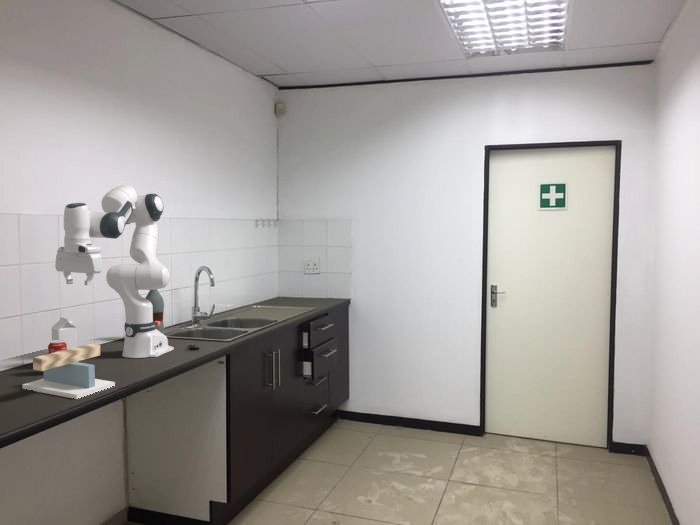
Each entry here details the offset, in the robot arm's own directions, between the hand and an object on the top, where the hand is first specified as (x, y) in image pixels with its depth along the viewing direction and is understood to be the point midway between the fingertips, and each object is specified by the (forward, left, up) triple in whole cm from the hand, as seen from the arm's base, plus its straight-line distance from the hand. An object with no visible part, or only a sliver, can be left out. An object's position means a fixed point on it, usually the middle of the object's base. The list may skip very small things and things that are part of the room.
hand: (78, 284), depth 216 cm
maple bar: (+13, +9, -25) cm, 30 cm away
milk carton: (-8, -18, -34) cm, 40 cm away
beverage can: (+1, -11, -34) cm, 36 cm away
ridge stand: (+13, +9, -34) cm, 38 cm away
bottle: (-59, -19, -34) cm, 71 cm away
